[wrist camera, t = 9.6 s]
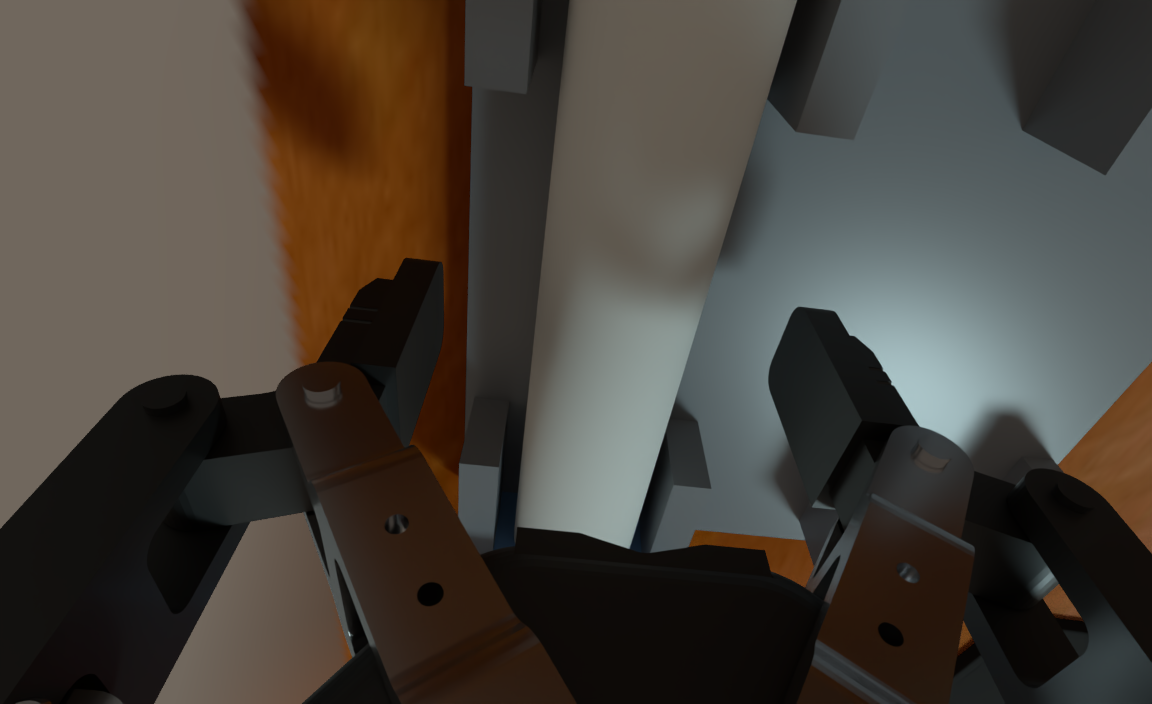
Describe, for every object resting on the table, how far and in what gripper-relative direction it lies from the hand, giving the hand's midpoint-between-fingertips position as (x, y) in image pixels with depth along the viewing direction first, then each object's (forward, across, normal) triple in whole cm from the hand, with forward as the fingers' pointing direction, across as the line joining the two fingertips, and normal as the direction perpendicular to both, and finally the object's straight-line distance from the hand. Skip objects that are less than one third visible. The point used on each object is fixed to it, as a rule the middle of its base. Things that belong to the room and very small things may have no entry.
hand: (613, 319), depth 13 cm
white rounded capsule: (+2, 0, 0) cm, 2 cm away
